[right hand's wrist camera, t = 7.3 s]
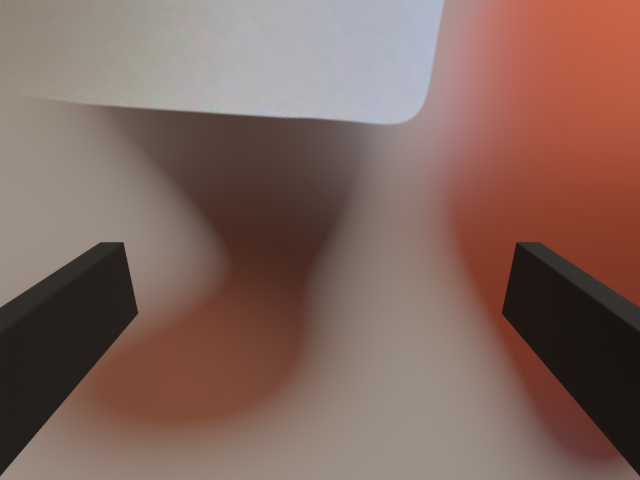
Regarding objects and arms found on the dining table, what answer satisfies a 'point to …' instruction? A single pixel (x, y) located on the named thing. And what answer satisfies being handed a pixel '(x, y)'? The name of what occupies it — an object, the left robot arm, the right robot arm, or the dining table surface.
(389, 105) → the dining table surface
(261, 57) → the dining table surface
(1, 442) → the right robot arm
